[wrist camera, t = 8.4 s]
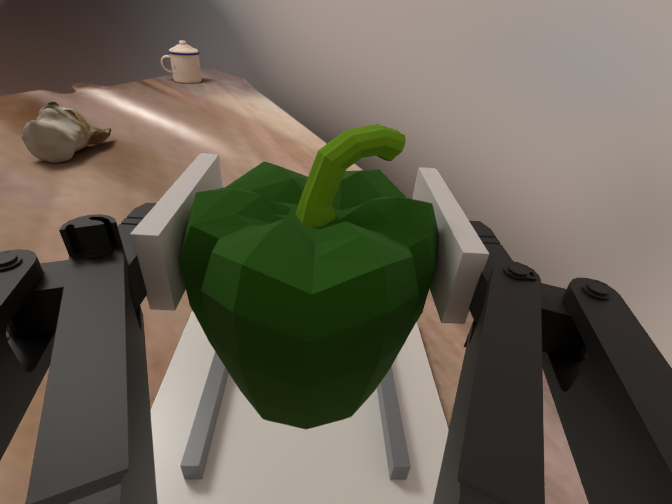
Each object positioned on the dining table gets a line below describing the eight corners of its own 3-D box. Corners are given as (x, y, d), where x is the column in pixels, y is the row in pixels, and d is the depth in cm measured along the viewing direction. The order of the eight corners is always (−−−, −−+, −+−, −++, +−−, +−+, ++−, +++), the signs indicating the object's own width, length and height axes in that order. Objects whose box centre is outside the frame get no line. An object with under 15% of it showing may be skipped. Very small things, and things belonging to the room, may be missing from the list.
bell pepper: (175, 470, 12) (82, 181, 7) (228, 301, 19) (203, 90, 14) (430, 470, 13) (538, 204, 7) (392, 306, 20) (432, 105, 14)
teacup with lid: (204, 79, 128) (200, 40, 122) (199, 84, 121) (194, 43, 114) (167, 77, 127) (161, 38, 120) (160, 82, 119) (153, 40, 113)
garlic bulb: (-14, 107, 54) (43, 93, 67) (8, 166, 58) (57, 142, 71) (67, 111, 55) (107, 96, 68) (83, 169, 60) (118, 144, 73)
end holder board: (97, 563, 19) (81, 541, 18) (195, 317, 34) (191, 294, 33) (477, 558, 20) (492, 537, 19) (411, 323, 35) (417, 301, 34)
